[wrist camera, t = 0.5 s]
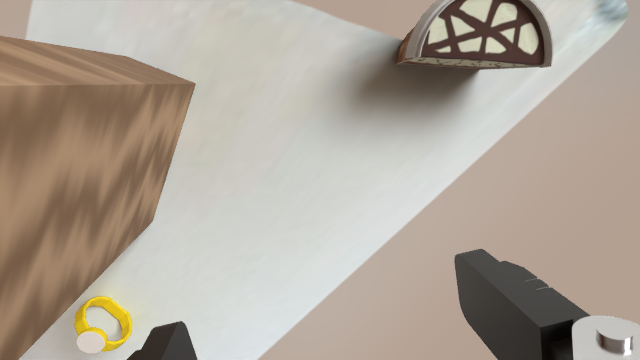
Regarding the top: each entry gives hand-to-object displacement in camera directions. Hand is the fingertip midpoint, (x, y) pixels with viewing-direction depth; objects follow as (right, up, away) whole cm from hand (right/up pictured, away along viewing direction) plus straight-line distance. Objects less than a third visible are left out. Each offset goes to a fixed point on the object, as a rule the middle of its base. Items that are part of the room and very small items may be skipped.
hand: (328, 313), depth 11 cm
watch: (-24, -11, +33) cm, 42 cm away
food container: (+13, +19, +28) cm, 36 cm away
